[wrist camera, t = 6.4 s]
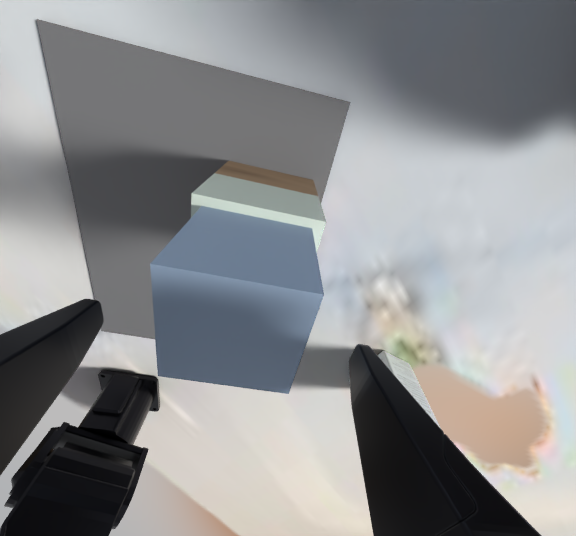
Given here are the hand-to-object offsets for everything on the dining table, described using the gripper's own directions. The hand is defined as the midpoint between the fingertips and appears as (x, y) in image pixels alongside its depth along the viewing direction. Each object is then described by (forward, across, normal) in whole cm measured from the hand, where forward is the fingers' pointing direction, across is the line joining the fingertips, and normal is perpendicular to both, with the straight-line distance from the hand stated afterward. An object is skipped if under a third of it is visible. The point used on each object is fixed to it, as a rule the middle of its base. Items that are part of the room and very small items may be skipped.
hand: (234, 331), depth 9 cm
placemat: (+13, +5, +4) cm, 14 cm away
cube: (+4, 0, 0) cm, 5 cm away
